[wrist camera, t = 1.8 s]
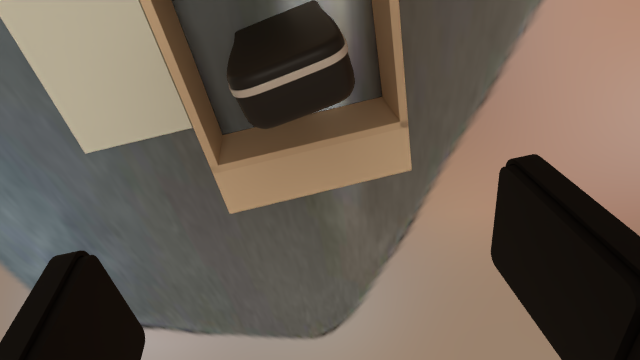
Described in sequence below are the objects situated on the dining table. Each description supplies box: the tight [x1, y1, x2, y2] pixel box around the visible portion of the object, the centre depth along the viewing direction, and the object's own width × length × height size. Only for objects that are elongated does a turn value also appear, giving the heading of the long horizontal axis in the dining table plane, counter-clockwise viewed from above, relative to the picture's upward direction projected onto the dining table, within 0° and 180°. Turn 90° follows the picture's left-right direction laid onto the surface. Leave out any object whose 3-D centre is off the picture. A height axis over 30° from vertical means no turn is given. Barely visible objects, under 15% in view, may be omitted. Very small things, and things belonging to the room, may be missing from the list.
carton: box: [140, 0, 412, 214], centre depth 28 cm, size 15×22×5 cm
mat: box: [0, 0, 193, 154], centre depth 30 cm, size 9×12×1 cm
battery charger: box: [227, 1, 355, 129], centre depth 26 cm, size 7×4×11 cm, turn 110°
